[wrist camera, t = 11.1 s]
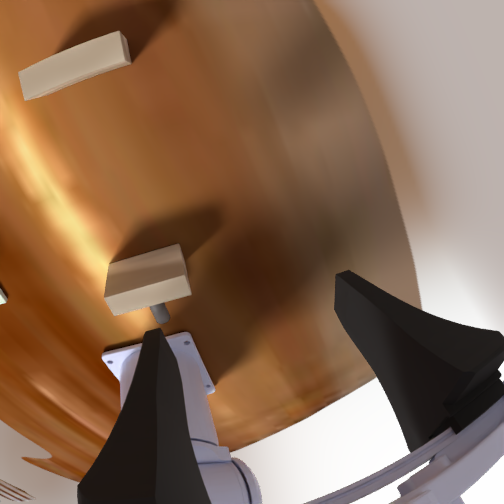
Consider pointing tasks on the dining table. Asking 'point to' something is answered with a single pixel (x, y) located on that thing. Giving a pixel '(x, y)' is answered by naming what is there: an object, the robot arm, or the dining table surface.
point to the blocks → (138, 267)
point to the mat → (2, 297)
